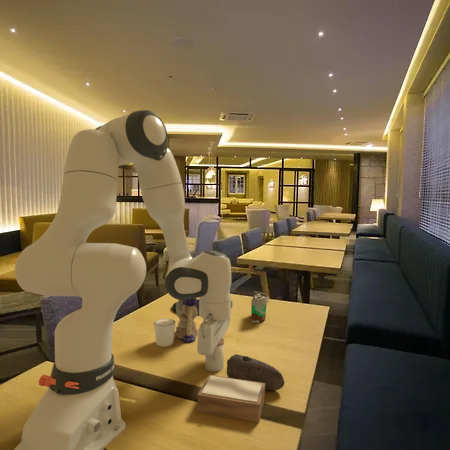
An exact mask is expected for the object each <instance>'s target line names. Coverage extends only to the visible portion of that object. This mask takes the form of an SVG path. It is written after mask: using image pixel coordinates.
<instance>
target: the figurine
mask: <svg viewBox="0 0 450 450" xmlns="http://www.w3.org/2000/svg"><path fill="white" fill-rule="evenodd" d="M183 301H184V300H178V301H176V302H177V304H176V313H175V314H176V317H177V318H178V319H179V321H178V323H177V326H175V331H174V337H175V336H176V337H177V338H178V339H180V340H182V339H183V337H184V336H185V335H186V332H187V330H186V328H187V316H188V312H187V310H188V307H187V306H186V305H184V304H183ZM197 315H198V312H197V308H196V306H193V308H192V326H191V327H192V330H191V335H193V336H194V338H197V337H198V332H199V329H198V328H197V324H196V322H195V319H196V318H197V317H198V316H199V315H198V316H197Z"/></svg>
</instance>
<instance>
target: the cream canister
mask: <svg viewBox="0 0 450 450" xmlns="http://www.w3.org/2000/svg"><path fill="white" fill-rule="evenodd" d="M224 346H225V339H224V337H223V338H222V339H221V340H220V342H219V343H218V345H217V346H216V348H215V349H214V355H215V360H214V362H213V363H208V362H207V355H204V359H205V360H204V369H205V370H206V371H208V372H211V373H212V372H214V373H216V372H217V373H218V372H220V371H222V370H223V369H224V358H225V357H224V353H225V352H224V350H225V349H224V348H225V347H224Z"/></svg>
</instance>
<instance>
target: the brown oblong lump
mask: <svg viewBox="0 0 450 450" xmlns="http://www.w3.org/2000/svg"><path fill="white" fill-rule="evenodd" d="M226 375H227V377H228V378H234V379H241V380H247V381H254V382H261V383H265V391H278V390H281V389H282V388H283V387H284V386H285V381H284V380H285V379H284V376H283V375H282V372H280V371H279V370H278V369H276V368H275V367H274V366H272V365H270V364H269V363H266V362H264V361H261V360H258V359H256V358H254V357H250V356H247V355H241V354H237V353H235V354H233V355H231V356H230V357H229V358H228V359H227V361H226Z"/></svg>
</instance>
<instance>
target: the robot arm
mask: <svg viewBox="0 0 450 450" xmlns="http://www.w3.org/2000/svg"><path fill="white" fill-rule="evenodd" d="M129 164H131V165H132V167H133V168H134V169H135V171H136V172H137V178H138V183H139V184H138V185H139V188H140V193H141V196H142V201H143V202H144V203H143V204H144V206H145V209H146V211H147V212H148V215H149V216H150V218H151V219H152V220H154V222H155V223H156V224H157V225H158V227H159V228H160V229H161V232H162V235H163V238H164V242H165V246H166V249H167V254H168V264H167V265H168V266H167V269H166V276H165V279H164V280H165V281H164V285H165V290H166V292H167V293H168V295H169V296H171V298H173V299H175V300H178V301H179V300H188V299H194V298H196V299H197V298H198V299H199V315H198V316H199V317H200V318H202V319H203V321H202V322H201V324H200V325H199V327H198V336H197V348H196V351H197V354H199V355H202V356H205V355H207V362H208V363H213V362H214V360H215V355H214V349H215V348H216V346H217V345H218V343H219V342H220V340H221V339H222V338H224V335H225V334H226V332H227V331H228V329H229V328H230V327H229V326H230V320H231V313H232V312H231V311H232V308H233V303H234V302H233V299H232V296H231V286H232V264H231V260H230V257H228V255H226V254H225V253H224V252H221V251H217V250H212V249H210V250H209V249H208V250H207V249H206V250H203V251H202V252H201V253H200V254H198V255H197V256H195V257H194V256H193V255H192V254H191V251H190V248H189V243H188V240H187V239H188V238H187V235H186V230H185V225H184V224H185V223H184V221H185V220H184V217H185V210H186V201H185V200H186V199H185V192H184V185H183V183H182V177H181V175H180V170H179V167H178V165H177V162H176V160H175V157H174V155H173V153H172V151H171V150H170V148H168V132H167V128H166V125H165V122H164V121H163V120H162V118H160V117H159V116H158V114H157V113H155V112H154V111H152V110H148V109H143V110H142V109H141V110H135V111H132V112H131V113H130V114H125V115H122V116H120V117H115V118H113V119H111V120H109V121H107V122H106V123H104V124H102V125H100V126H98V127H96V128H95V129H94V128H92V129H91V128H89V129H88V128H87V129H83V130H80V131H78V132H77V133H75V134H74V136H73V137H72V139H71V143H70V144H69V148H68V150H67V155H66V157H65V164H64V170H63V176H62V177H63V178H62V184H61V192H60V197H59V199H60V200H59V202H58V208H57V211H56V214H55V216H54V218H53V220H52V222H51V224H50V225H49V227H48V228H47V229H46V230H45V231H44V233H43V234H42V235H41V236H40V237H39V238H38V239H37V240H36V241H35V242H33V243H31V244H30V245H28V246H26V247H25V248H24V249H23V250H22V251H21V252H20V254H19V255H18V257H17V259H16V261H15V265H14V276H15V279H16V282H17V285H19V287H20V288H21V289H22V290H23V291H25V292H27V293H28V292H29V293H32V294H37V295H41V296H46V297H79V298H81V299H82V302H81V303H82V304H81V308H80V309H76V310H74V311H73V312H71V313H69V314H67V315H66V316H64V317H63V318H61V320H60V321H59V322H58V323H57V325H56V327H55V330H54V334H53V335H54V363H53V365H52V369H51V374H50V375H47V374H42V375H41V376H40V377H39V379H38V382H37V383H38V386H40V387H46V388H47V390H46V391H45V393H44V394H43V396H42V397H41V399H40V401H38V403H37V405H36V406H35V408H34V410H33V411H32V413H31V414H30V416H29V417H28V418H27V420H26V422H25V423H24V425H23V428H22V434H21V440H20V442H19V443H18V445H17V446H16V447H15V448H14V449H13V450H105V449H106V448H105V447H106V446H107V445H108V444H110V443H111V442H112V441H113V440H114V439H115V438H116V437H117V436H119V435H120V434H121V433H122V432H123V431H125V429H126V427H127V424H126V422H125V421H124V419H123V418H122V412H121V411H122V410H121V401H120V394H119V390H118V386H117V384H116V382H115V379H114V374H115V365H116V364H115V359H114V357H115V356H114V353H112V352H113V351H112V350H113V346H112V345H113V344H112V343H113V342H112V341H113V340H112V339H113V331H114V330H113V329H114V328H113V327H114V322H115V321H114V320H115V319H116V315H117V314H118V310H119V309H120V308H121V306H122V305H123V303H125V302H126V300H127V299H129V298H130V297H131V296H132V295H134V294H135V293H136V292H138V290H140V288H141V287H142V285H143V284H144V281H145V278H146V275H147V263H146V260H145V257H144V256H143V254H142V252H141V251H140V250H139V249H138V248H137V247H133V246H130V245H125V244H120V243H113V242H111V243H110V242H87V240H88V239H89V236H90V235H91V234H92V232H93V231H95V230H96V229H98V228H100V227H102V226H105V225H107V224H108V223H109V222H110V221H111V220H112V218H113V217H114V216H115V215H116V207H117V196H118V182H119V167H120V166H125V165H129Z"/></svg>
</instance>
